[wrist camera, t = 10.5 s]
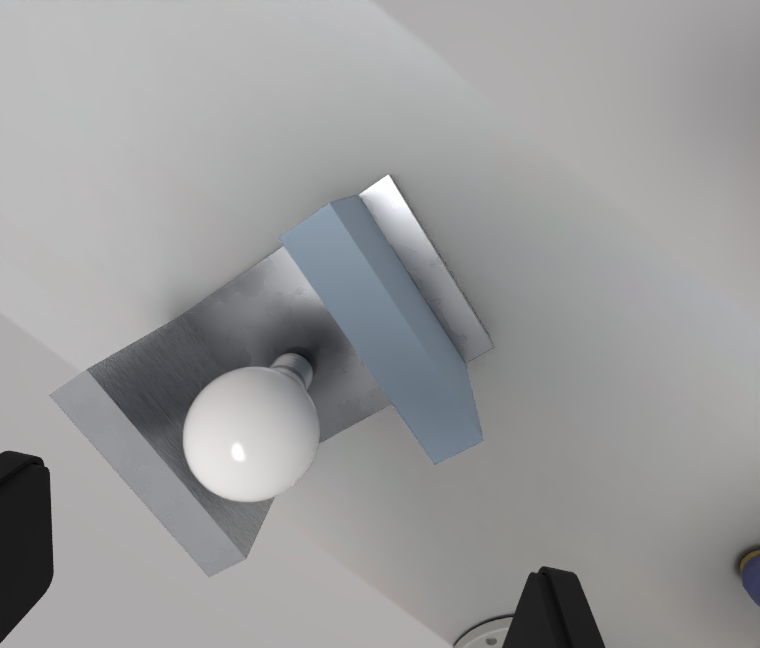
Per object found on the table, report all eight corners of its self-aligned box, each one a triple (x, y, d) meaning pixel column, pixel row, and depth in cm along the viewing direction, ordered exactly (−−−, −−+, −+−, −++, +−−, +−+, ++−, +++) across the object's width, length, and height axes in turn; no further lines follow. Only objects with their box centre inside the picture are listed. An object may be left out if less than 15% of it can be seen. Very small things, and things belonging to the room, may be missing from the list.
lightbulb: (227, 351, 30) (125, 445, 20) (307, 303, 29) (243, 377, 18) (283, 428, 32) (215, 553, 21) (362, 386, 30) (331, 497, 20)
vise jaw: (465, 364, 29) (483, 440, 21) (430, 383, 30) (434, 464, 21) (358, 194, 26) (329, 202, 18) (322, 219, 27) (278, 237, 19)
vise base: (489, 337, 31) (525, 419, 20) (273, 457, 35) (208, 577, 24) (390, 174, 28) (372, 172, 18) (169, 324, 32) (48, 395, 22)
